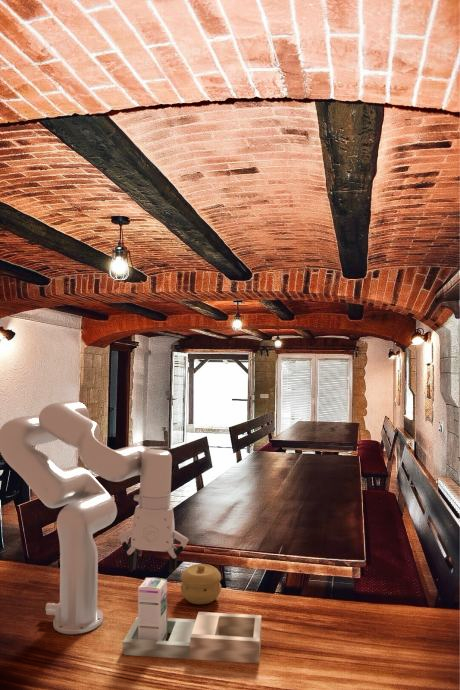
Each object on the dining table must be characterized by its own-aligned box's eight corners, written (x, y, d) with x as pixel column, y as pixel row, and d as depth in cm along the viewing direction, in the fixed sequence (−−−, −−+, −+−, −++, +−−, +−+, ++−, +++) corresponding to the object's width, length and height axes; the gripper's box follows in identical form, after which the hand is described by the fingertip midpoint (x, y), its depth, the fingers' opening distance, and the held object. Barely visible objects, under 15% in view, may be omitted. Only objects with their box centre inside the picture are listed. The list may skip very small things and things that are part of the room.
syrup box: (160, 649, 123) (161, 588, 123) (137, 647, 124) (137, 586, 124) (167, 637, 129) (168, 578, 129) (144, 634, 130) (145, 576, 130)
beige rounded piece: (215, 612, 141) (215, 575, 142) (174, 607, 144) (174, 571, 144) (225, 593, 153) (226, 559, 153) (188, 588, 156) (188, 555, 156)
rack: (122, 654, 121) (122, 633, 121) (136, 627, 133) (137, 608, 133) (259, 663, 118) (259, 641, 118) (261, 635, 130) (261, 615, 130)
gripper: (115, 503, 124) (113, 574, 124) (186, 508, 123) (183, 580, 122) (125, 494, 132) (122, 561, 132) (192, 499, 130) (189, 567, 130)
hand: (152, 570), depth 127 cm, fingers open, 9 cm apart
